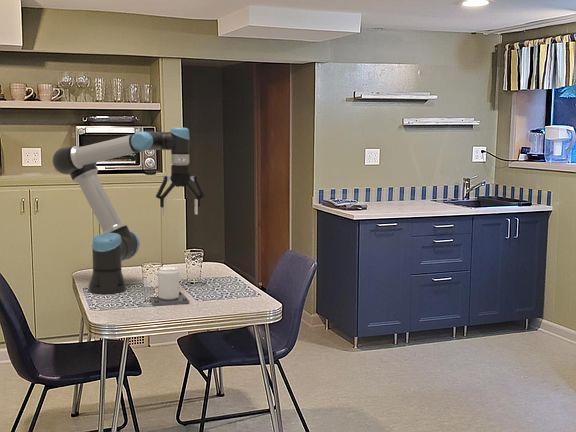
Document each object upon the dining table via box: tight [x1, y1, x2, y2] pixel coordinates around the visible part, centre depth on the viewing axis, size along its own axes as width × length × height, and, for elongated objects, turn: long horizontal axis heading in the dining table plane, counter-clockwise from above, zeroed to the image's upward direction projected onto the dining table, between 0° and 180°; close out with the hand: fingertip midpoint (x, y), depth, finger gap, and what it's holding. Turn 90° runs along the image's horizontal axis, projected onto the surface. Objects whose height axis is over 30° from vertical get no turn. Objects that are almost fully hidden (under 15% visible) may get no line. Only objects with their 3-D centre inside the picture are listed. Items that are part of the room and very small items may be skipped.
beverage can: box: [157, 266, 180, 300], centre depth 278 cm, size 8×8×12 cm
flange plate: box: [149, 290, 190, 307], centre depth 279 cm, size 14×14×4 cm
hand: (180, 214), depth 298 cm, fingers open, 13 cm apart
